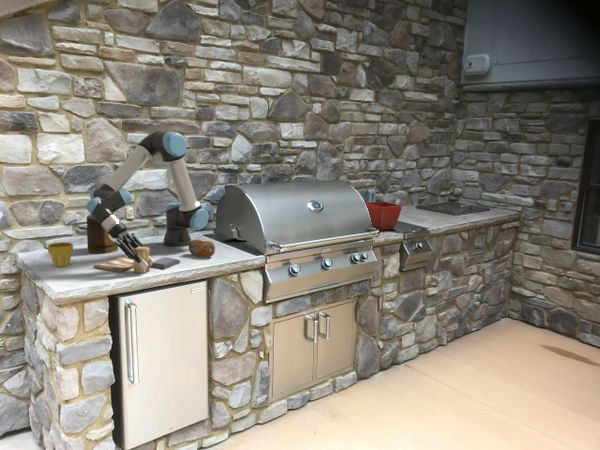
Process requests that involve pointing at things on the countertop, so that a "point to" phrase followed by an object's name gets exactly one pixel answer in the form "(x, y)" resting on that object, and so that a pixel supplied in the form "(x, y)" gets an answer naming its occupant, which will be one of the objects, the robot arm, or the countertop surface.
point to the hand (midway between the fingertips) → (149, 265)
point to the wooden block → (145, 256)
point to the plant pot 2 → (383, 214)
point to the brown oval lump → (202, 248)
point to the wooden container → (99, 238)
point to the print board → (117, 264)
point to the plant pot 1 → (60, 253)
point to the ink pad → (165, 263)
